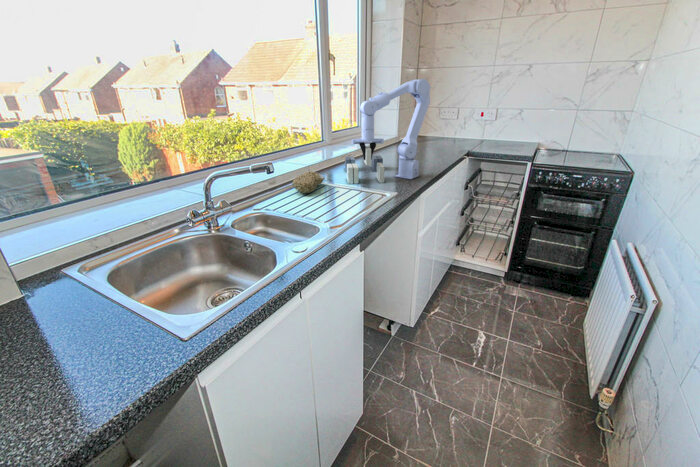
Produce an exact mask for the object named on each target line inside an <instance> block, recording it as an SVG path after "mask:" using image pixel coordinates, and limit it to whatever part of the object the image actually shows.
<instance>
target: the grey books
mask: <svg viewBox="0 0 700 467" xmlns="http://www.w3.org/2000/svg"><path fill="white" fill-rule="evenodd" d="M354 163H356V158H355V156H354V155H350V156H349V155H348V156H347V155H346V156H344V169H345V172H346V173H347V164H354ZM377 163H382V164H383V165H384V158H383V157H382V156H381V155H372V160H371V166H370V168H371V169H372V171H373V172H377Z"/></svg>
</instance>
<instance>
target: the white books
mask: <svg viewBox="0 0 700 467" xmlns="http://www.w3.org/2000/svg"><path fill="white" fill-rule="evenodd" d="M359 172H360V171H359V165H358V163H356V162H355V163H354V164H347V172H346V180H347V184H348V185H352V184H355V185H356V184H359V182H360V181H359V180H360V179H359V176H360V175H359ZM376 179H377V181H378V183H379V184H381V183H382V184H383V183H385V166H384V163H383V164H382V163H377V171H376Z"/></svg>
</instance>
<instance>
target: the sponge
mask: <svg viewBox="0 0 700 467" xmlns="http://www.w3.org/2000/svg"><path fill="white" fill-rule="evenodd" d="M324 180H325V177H324V176H323V175H322V174H320V173H318V172H316V171H307V172H306V171H305V172H304V173H302V174H300V175H298V176H297V177H295V179H293V181H292V187H293V188H294V189H295V190H297V192H299V193H301V194H310V193H312V192H314V191H315V190H316V189H317V186H319V185H322V184H323V182H324Z"/></svg>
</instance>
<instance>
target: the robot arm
mask: <svg viewBox="0 0 700 467" xmlns="http://www.w3.org/2000/svg"><path fill="white" fill-rule="evenodd" d="M431 88H432V87H431V85H430V83H429V81H428V80H427V79H426V78H420V79H419V78H418V79H416V78H415V79H414V78H413V79H411V80H408V81H406V82H404V83H402V84H401V85H399V86H397V87H396V88H394V89H392V90H390V91H388V92H386V91H383V92H382V91H380V92H378V94H377V95H375V96H373V97H369V98H368V100H364V101H362V103H361V104H360V106H359V111H360V113H361V138H354V139H351V145H359V147H360V149H361V153H362V156H363V161H364V160H365V159H366V156H365V148H366V146H367V145H366V144H369V147H370V148H371V160H372V156H374V155H373V154H374V152H375V149H376V147H377V144H384V141H385V140H384V138H375V113H376V112H377V111H379V110H381V109H383V108H385V107H387V106H389V105H390V103H391V101H392V100H395V99H396V98H398V97H400V96H402V95H404V94H406V93H407V94H408V93H409V94H410V95H411V96H412V97H413V98H414V99H415V101H416V106H415V108H414V111H413V113H412V114H413V115H412V116H411V120H410V123H409V125H408V129H407V132H406V135H405V136H404V138H403V139H402V140H401V142H400V144H399V145H398V146H397V150H396V152H397V154H398V155H399V156H398V171H397V174H396V175H394V177H395V178H401V179H408V180H413V179H416V178H418V177H419V176H420V175H419V171H420V162H419V159H415V157H416V156H417V153H418V149H417V148H418V145H419V144H418V141H417V140H418V136H419V134H420V131H421V128H422V125H423V123H424V120H425V117H426V114H427V112H428V109H429V106H430V104H431V95H430V93H431V92H430V90H431Z"/></svg>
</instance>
